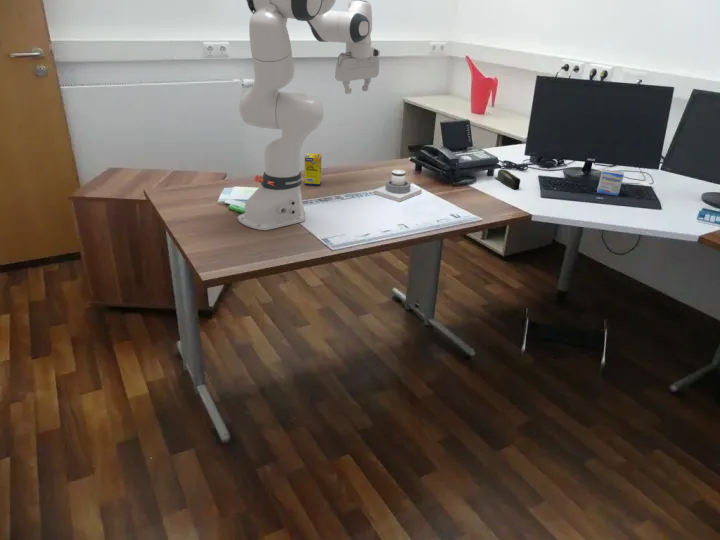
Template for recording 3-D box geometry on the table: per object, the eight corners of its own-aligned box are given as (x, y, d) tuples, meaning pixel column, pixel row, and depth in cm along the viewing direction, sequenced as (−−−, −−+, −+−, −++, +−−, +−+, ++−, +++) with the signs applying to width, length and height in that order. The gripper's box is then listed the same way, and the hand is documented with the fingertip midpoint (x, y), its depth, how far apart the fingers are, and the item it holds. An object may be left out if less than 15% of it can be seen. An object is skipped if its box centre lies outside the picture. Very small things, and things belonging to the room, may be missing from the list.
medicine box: (596, 193, 218) (602, 171, 214) (597, 189, 222) (602, 168, 218) (618, 196, 215) (624, 174, 211) (618, 192, 219) (623, 171, 215)
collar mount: (399, 202, 199) (399, 191, 197) (373, 193, 205) (373, 183, 203) (421, 193, 208) (422, 183, 206) (396, 185, 215) (396, 175, 213)
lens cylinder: (398, 192, 203) (400, 174, 200) (387, 189, 206) (389, 171, 202) (407, 189, 206) (408, 171, 203) (396, 186, 209) (397, 168, 206)
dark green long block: (522, 178, 215) (501, 166, 227) (515, 179, 214) (494, 167, 226) (519, 190, 217) (499, 178, 230) (513, 191, 217) (492, 178, 229)
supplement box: (320, 186, 210) (320, 158, 205) (304, 185, 210) (304, 157, 205) (321, 181, 216) (321, 153, 211) (306, 180, 216) (306, 153, 211)
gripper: (345, 54, 185) (343, 96, 191) (383, 50, 199) (380, 90, 205) (331, 52, 188) (330, 94, 195) (369, 49, 202) (367, 88, 209)
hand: (356, 92), depth 200 cm, fingers open, 8 cm apart
